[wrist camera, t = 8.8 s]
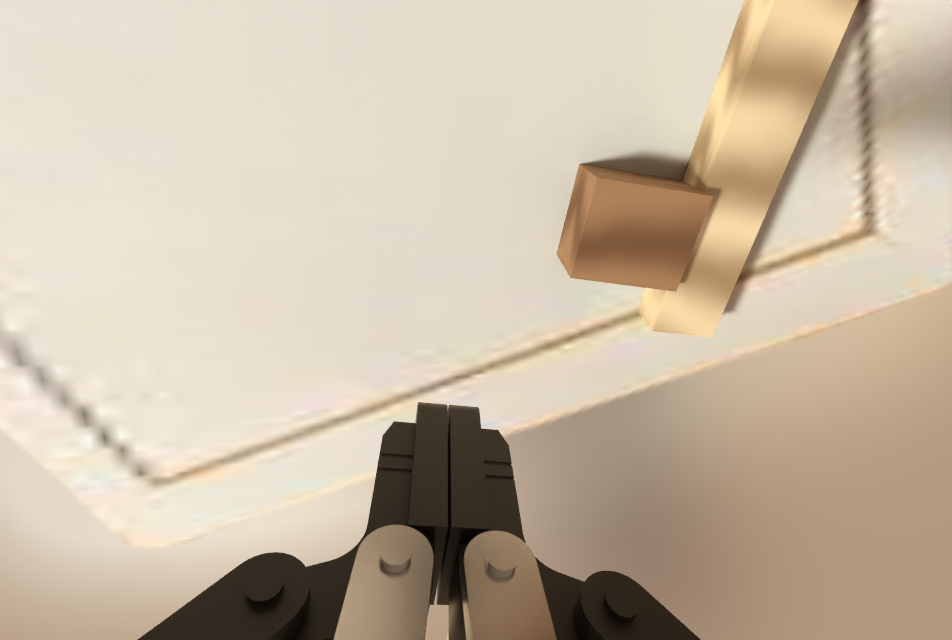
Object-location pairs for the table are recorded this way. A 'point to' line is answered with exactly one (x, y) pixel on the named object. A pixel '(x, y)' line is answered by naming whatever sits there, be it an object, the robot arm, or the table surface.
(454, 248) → the table surface
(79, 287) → the table surface
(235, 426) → the table surface
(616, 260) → the walnut block
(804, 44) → the ash board
